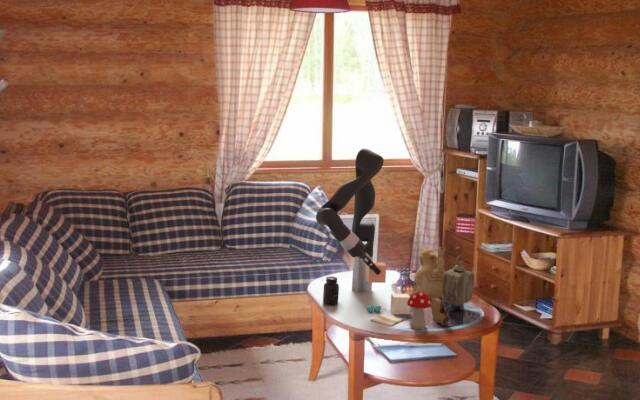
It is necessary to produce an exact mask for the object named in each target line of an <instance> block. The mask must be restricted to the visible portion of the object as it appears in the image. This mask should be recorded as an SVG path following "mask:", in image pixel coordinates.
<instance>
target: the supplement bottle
mask: <svg viewBox="0 0 640 400" xmlns="http://www.w3.org/2000/svg"><path fill="white" fill-rule="evenodd" d="M339 291H340V285H339V284H338V277H336V276H327V277H326V280H325V283H324V285H323V293H322V294H323V296H322V304H323V305H325V306H328V307H329V306H330V307H331V306H334V307H335V306H337V305H338V304H339V295H340V293H339Z"/></svg>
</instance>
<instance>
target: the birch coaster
mask: <svg viewBox="0 0 640 400" xmlns="http://www.w3.org/2000/svg"><path fill="white" fill-rule="evenodd" d="M403 320H404V319H403V318H401V317H397V316H393V315H388V314H385V313H381V314H379V315H377V316H375V317H373V318H371V319H370V322H372V321H373V323H377V324H381V325H386V326H388V327H392V326H394V325H396V324H398V323H400V322H402V321H403Z"/></svg>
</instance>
